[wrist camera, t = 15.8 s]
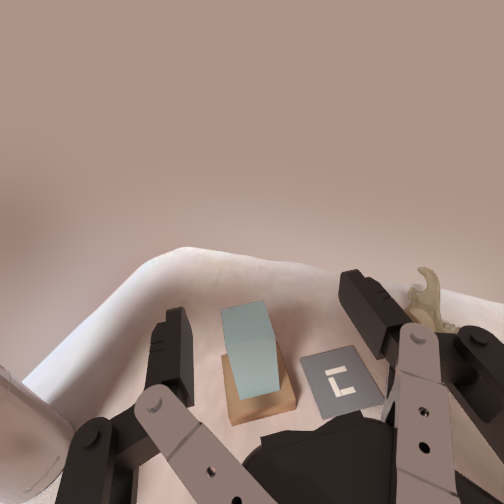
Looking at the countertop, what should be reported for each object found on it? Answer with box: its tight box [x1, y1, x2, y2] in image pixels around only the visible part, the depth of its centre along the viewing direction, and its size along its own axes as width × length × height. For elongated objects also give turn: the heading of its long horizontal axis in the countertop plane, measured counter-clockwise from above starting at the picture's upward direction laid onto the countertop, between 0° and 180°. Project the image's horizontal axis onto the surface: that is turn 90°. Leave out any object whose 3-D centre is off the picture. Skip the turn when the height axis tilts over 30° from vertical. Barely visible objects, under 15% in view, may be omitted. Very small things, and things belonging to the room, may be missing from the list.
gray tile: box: [300, 346, 385, 420], centre depth 40 cm, size 9×9×1 cm
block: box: [221, 300, 280, 400], centre depth 35 cm, size 6×6×12 cm
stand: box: [221, 342, 296, 426], centre depth 39 cm, size 9×9×3 cm
